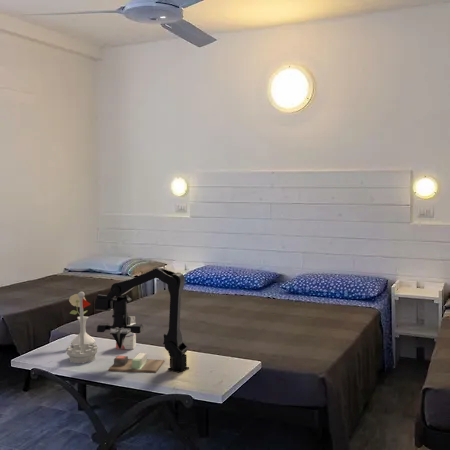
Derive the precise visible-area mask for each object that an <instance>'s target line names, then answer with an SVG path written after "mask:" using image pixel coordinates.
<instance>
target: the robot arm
mask: <svg viewBox="0 0 450 450" xmlns="http://www.w3.org/2000/svg"><path fill="white" fill-rule="evenodd" d="M154 279H158V280H159V281H161V282H162V283H165V284H167V290H168V293H169V314H168V315H169V316H168V317H169V318H168V331H166V332H165V333H163V343H162V344H163V345H164V349H165V350H166V351H167V353H168V356H169V367H167V370H168V371H173V372H176V373H180V372H183V371H186V370H188V369H190V367H189V366H187V354H186V353H187V352H188V349H189V347H188V346H187V344H185V343H184V341H183V336H182V335H183V334H182V331H181V329H180V327H181V323H180V322H181V305H182V304H181V303H182V301H181V300H182V299H181V298H182V293H183V290H184V288H185V282H186V277H185V275H184V274H183V273H181V272H174V271H171V270H168V269H165V268H163V267H160V266H157V267H155V268H152V270H149V271H147V272H144V273H143V274H140V275H137V276H135V277H133V278H131V279H124V280H119V281H117V282H115V283H113V284H111V287H110V291H109V292H108V294H99V293H98V294H97V295H96V299H95V301H94V309H95V311H99V312H101V311H102V312H110V311H111V310H112V322H113V323H112V325H111V324H110V322H101V323H100V324H98V325H97V326H96V332H97V333H104V332H105V331H110V333H109V335H112V337H113V339H114V340H115V344H116V343H117V345H118V347H119V348H122V345H123V342H124V339H125V337H126V335H127V334H128V333H129V332H130V330H131V332H132V333H136V334H141V333H142V332H143V331H144V324H143V323H136V324H133V325H132V326H127V325H130V322H131V317H129V316H130V315H128V306H127V305H128V304H127V303H128V302H131V301H132V298H131V297H130V296H129V294H128V295H125V294H127V293H129V292H130V291H132V289H134V288H135V287H138V286H140V285H142V284H145V283H147V282H149V281H152V280H154ZM123 295H125V296H123ZM116 297H117V298H116ZM121 331H122V332H121ZM120 332H121V333H120Z"/></svg>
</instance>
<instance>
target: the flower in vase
mask: <svg viewBox="0 0 450 450" xmlns="http://www.w3.org/2000/svg"><path fill="white" fill-rule="evenodd" d="M83 299H84V300H86V301H87V299H86V297H85V296H84V297H83ZM68 301H69V303H70V305H71V306H73V307H76V308H80V298H79V297H78V293H75V294H73V295H70V297H69V299H68ZM88 310H89V309H88ZM88 310H85V311H84V310H83V316H84V315H85V314H86V313H88ZM69 314H71V315H77V314H78V315H79V316H77V320H78V321H79V323H80V311H79V310H78V309H76V310H75V309H73V310H71V311H70V312H69ZM88 319H89V316H84V343H90V346H92V345H93V344H95V343H96V340H95V339H94V338H93V337H92V336H91V335H89V333H87V332H86V331H87V330H86V323H87V320H88ZM75 344H79V346H80V333H78V335H76V336H75V337H74V338H72V341H70V345H71V347H73V345H75Z"/></svg>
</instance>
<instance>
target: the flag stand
mask: <svg viewBox="0 0 450 450" xmlns="http://www.w3.org/2000/svg"><path fill="white" fill-rule="evenodd" d="M77 294H78V297H79V298H80V307H79V314H80V315H79V317H80V322H79V325H80V326H79V329H80V330H79V331H80V332H79V334H80V346H79V344H75V345H73V346H72V345H71V346H70V345H68V346H67V347H66V355H67V356H68V357H69V358H68V359H69V362H71V363H75V364H83V363H90V362H92V361H94V360H96V354H97V353H98V346H97V344H95V343H94V344H93V345H91V346H90V343H84V314H83V312H84V309H85V308H86V307H88V306H90V305H91V303H90V302H88V301H87V299H86V300H84V299H83V297H85V295H86V294H85V292H84V291H79V292H78V293H77Z"/></svg>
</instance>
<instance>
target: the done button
mask: <svg viewBox="0 0 450 450" xmlns="http://www.w3.org/2000/svg"><path fill="white" fill-rule="evenodd" d="M117 356H118V357H117ZM117 356H116V357H117V358H116V357H115V358H116V359H125V358H126V356H127V355H117Z"/></svg>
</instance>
